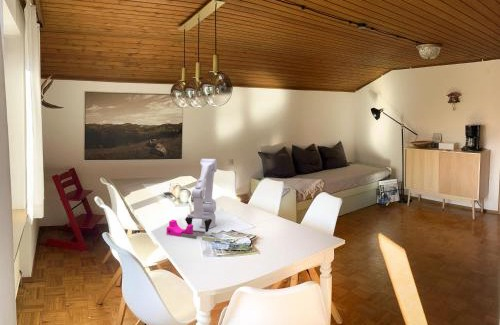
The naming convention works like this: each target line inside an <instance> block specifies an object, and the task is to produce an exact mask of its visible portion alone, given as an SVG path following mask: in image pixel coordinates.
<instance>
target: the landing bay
mask: <svg viewBox="0 0 500 325" xmlns="http://www.w3.org/2000/svg"><path fill="white" fill-rule="evenodd" d="M210 234H211V235H214V234H226V233H224V232H223V233H222V232H215V231H211V232H210ZM214 239H216V240H221V241H222V238H219V237H211V236H204V235H203V236H201V241H207V242H214V241H213V240H214ZM230 242H232V241H231V240H230V241H229V243H230Z"/></svg>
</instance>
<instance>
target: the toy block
mask: <svg viewBox="0 0 500 325" xmlns="http://www.w3.org/2000/svg"><path fill="white" fill-rule="evenodd" d="M193 230H194V224H193V223H192V224H190V225H188V224H187V225H186V228H185V229H184V228H182V227H181V226H179V225H178V221H177V220H176V219H171V220H169V221H168V226H166V235H169V236H175V237H181V234H191V235H194V232H193ZM181 238H182V237H181Z"/></svg>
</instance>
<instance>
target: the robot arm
mask: <svg viewBox="0 0 500 325" xmlns="http://www.w3.org/2000/svg"><path fill="white" fill-rule="evenodd" d="M199 163H200V168H201V170H200V171H201V172H200V175H199V178H197V180H196V183H195V187H194V189H192V191H191V197H192V201H193V213H192V214H190V213H188V214H187V216H186V217H185V218H184V220H185V222H186V224H187V226H188V225H190V224H192V225H193V220H194V219H196V220H201V225H199V227H198V228H203V229H204V230H205V233H208V232H209V229H212V228H214V227H216V226H217V224H216V214H215V213H216V209H217V202H216V200H215V199H214V198H213V190H214V189H213V188H214V176H215V173H216V172H217V170H218V161H217V159H216V158H201V159H200V162H199Z"/></svg>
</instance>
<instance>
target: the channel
mask: <svg viewBox="0 0 500 325" xmlns="http://www.w3.org/2000/svg"><path fill="white" fill-rule="evenodd" d="M197 232H199V234H205V233H206V231H204V230H195V229H193V233H197ZM197 237H198V235H197V234H193V235H191V234H181V238H188V239H192V240H197Z"/></svg>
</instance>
